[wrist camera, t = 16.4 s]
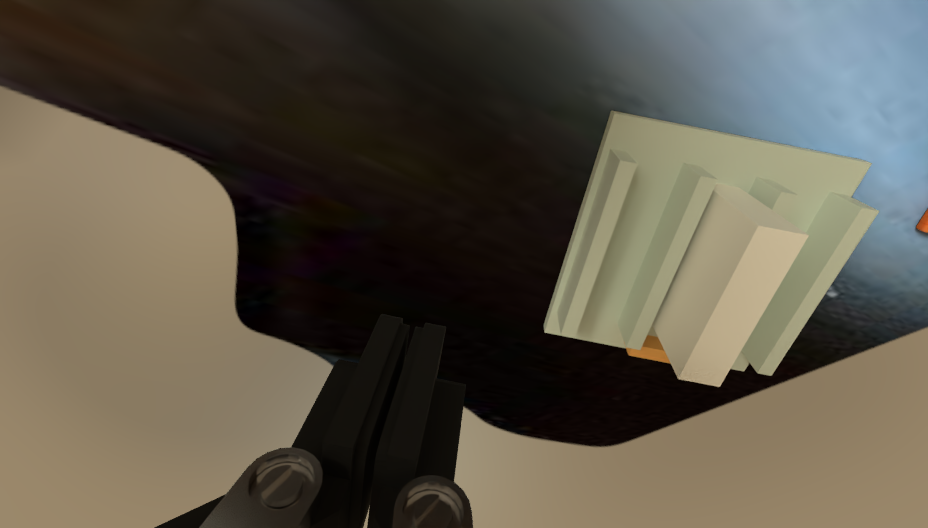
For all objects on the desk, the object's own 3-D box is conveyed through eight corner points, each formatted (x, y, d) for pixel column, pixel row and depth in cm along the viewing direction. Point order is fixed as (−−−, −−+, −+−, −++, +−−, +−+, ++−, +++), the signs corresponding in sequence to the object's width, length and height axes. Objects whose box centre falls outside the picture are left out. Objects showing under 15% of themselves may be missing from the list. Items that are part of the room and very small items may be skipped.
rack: (611, 110, 34) (625, 121, 29) (860, 159, 34) (909, 177, 29) (543, 324, 43) (547, 356, 39) (738, 363, 43) (762, 398, 39)
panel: (700, 180, 34) (758, 225, 26) (739, 187, 34) (809, 235, 26) (644, 309, 40) (678, 378, 32) (677, 315, 40) (719, 387, 32)
